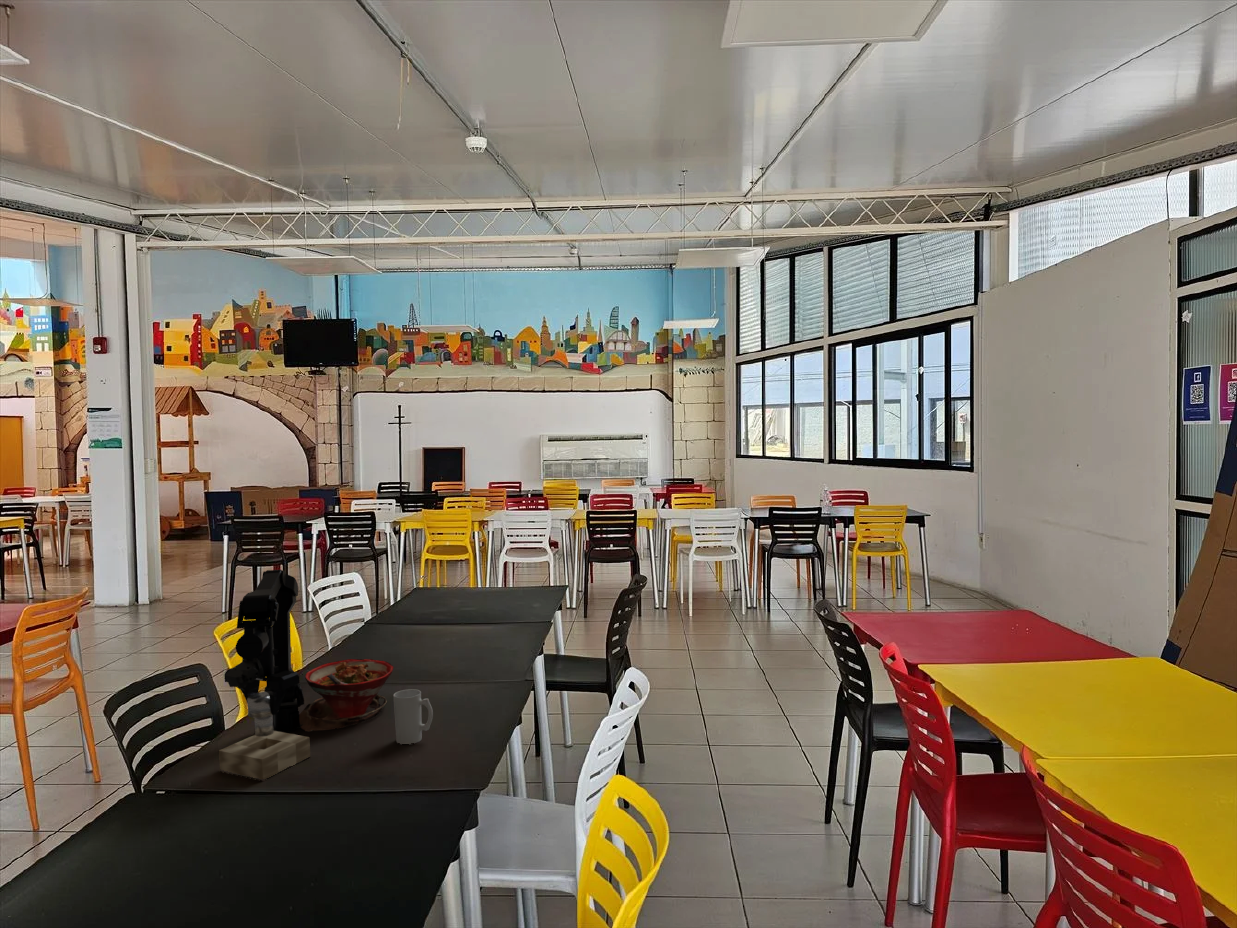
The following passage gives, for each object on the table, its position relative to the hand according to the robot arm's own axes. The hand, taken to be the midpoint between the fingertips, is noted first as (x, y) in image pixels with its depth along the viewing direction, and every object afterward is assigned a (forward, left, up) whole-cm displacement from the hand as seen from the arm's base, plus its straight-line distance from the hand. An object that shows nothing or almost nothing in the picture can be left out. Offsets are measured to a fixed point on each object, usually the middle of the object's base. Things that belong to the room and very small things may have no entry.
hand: (263, 712), depth 194 cm
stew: (-6, +33, -13) cm, 36 cm away
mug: (+24, +25, -13) cm, 37 cm away
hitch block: (0, 0, -12) cm, 13 cm away
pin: (0, 0, -5) cm, 5 cm away
